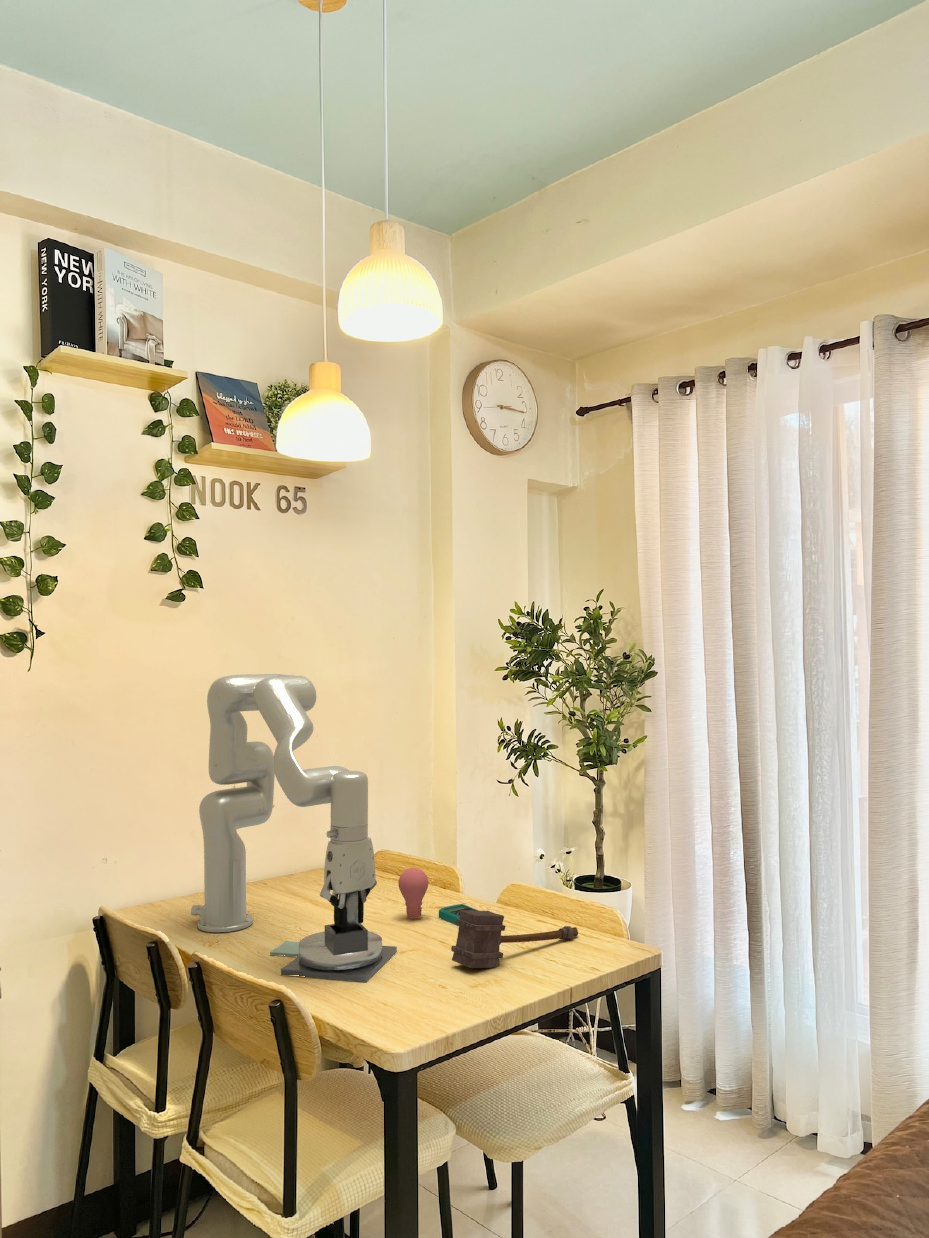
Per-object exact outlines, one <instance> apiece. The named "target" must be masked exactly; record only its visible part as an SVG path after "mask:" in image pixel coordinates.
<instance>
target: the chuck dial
mask: <svg viewBox="0 0 929 1238" xmlns="http://www.w3.org/2000/svg"><path fill="white" fill-rule="evenodd" d="M298 942H299V961H300V963H302V964H303V965H305V966H307V967H310V968H315V969H322V970H345V969H353V968H358V967H362V966H366V965H369V964H372V963H374V962H376V961H377V960H379V959H380V958H381V957H382V946H383V937H381V935H380V934H377V933H376V932H373V931H371V930H370V931H369V930H368V929H367V928H366V927H365V926H364V925H363V923H359V930H356V931H349V932H341V927H338V926H335V924H334V923H331V924H325V925H324V931H320V932H319V931H318V932H316V933H313V934H310V935H307V936H306V937H304V938H301V940H300V941H298Z"/></svg>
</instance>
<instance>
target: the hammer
mask: <svg viewBox="0 0 929 1238" xmlns="http://www.w3.org/2000/svg"><path fill="white" fill-rule="evenodd" d="M504 920H505V915H502V914H501V913H500V914H499V913H495V912H493V911H490V910H479V911H474V910H461V911H460V919H456V924H458V925H459V926H458V925H457V926H458V930H457V931H458V932H457V936H456V937H457V938H456V943H455V945H451V948H450V950H451V952H453V955H452V957H451V961H453V962H454V963H458V964H460V965H463V966H464V967H466V968H469V969H486V968H487V969H489V968H499V967H500V959H503V957H504V952H501V951H500V947H501V944H505V943H506V944H507V943H510V944H511V943H529V942H540V941H550V940H567V941H572V940H573V939H574V938H575V937H578V936H579V930H578V928H577V927H576V926H575V927H574V926H573V927H572V926H570V925H567V926H566V925H565V926H562V927H561V928H558V930H551V931H544V932H537V933H536V932H535V933H525V934H524V933H523V934H511V935H510V934H509V935H502V932H504V931H506V925H504Z"/></svg>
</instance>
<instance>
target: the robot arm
mask: <svg viewBox="0 0 929 1238" xmlns="http://www.w3.org/2000/svg"><path fill="white" fill-rule="evenodd" d="M315 687H316V686H314V684H313V682H312V681H311V680H310V679H309V678H307V677H306V676H303V675H294V674H281V673H265V674H264V673H259V674H258V673H257V674H232V675H225V676H222V677H219V678H217V679H216V680H214V681H213V682H212V683H211V685H210V686H209V689H208V692H207V696H206V706H207V712H208V717H209V724H210V733H209V745H208V747H209V748H208V751H209V752H208V775H209V778H210V780H211V782H213V783H214V784H216V785H219V786H220V785H223V786H226V785H235V784H236V785H237V784H244V783H246V786H241V787H233V788H226V789H218V790H214V791H211V792H210V793H208V794H206V795H205V796H204V797H203V798H202V800H201V802H200V804H199V809H198V812H199V819H200V824H201V825H200V826H201V830H202V837H203V839H202V840H203V864H204V865H203V868H204V869H203V874H204V876H203V877H204V886H203V887H204V888H203V889H204V890H203V891H204V895H203V897H204V904H203V905H202V904H201V905H200V904H193V905H191V909H190V916H197V917H198V916H199V917H200V919H199V920H198V921H197V928H198V929H199V930H200V931H203V932H207V933H229V932H235V931H240V930H244V929H247V928H248V927H250V926H251V925H253V923H254V918H253V916H252V915H250V913H249V914H248V913H247V861H246V860H247V855H246V854H247V852H246V850H247V849H246V846H245V843H244V840H243V839H242V838H241V836H240V835H239V834H238V832H237V830H239V829H242V828H249V827H253V826H259V825H262V824H265V823H266V822H267V821H268V820H269V819H270V818H271V815H272V814H273V809H274V808H273V806H274V793H275V779H276V780H277V781H276V782H278V785H279V786H280V788H281V789H282V792H283V793H284V795H285V796H286V798H287V799H288V800H289V802H291V803H292V804H293V805H295V806H296V807H299V808H306V807H307V808H308V807H313V806H319V805H326V804H330V826H329V827H330V829H329V830H327V831H326V837H327V838H328V839H330V840H328V841H327V846H326V852H325V858H324V868H323V869H324V872H323V873H324V874H323V882H324V883H323V885H322V887H321V890H320V892H319V896H320V897H321V898H322V899H325V900H327V901H328V902H329V903H330V904H331V906H332V907H333V922H334V923H333V924H335V926H338V927H341V928H345V927H346V908H345V907H344V902H345V894H346V893H351V892H355V891H358V922H359V923H361V924H364V914H365V912H364V909H365V907H364V906H365V905H364V904H365V903H366V902H367V897H369V895H370V893H371V892H372V891H371V890H373V889H374V888H375V887H376V886H377V885H378V882H377V880H376V861H375V860H376V859H375V850H374V846H373V841H372V838H371V837H369V836H368V835H369V829H368V828H369V779H368V776H367V774H366V773H365V772H363V771H358V770H350V769H348V768H345V767H343V766H340V765H330V766H322V767H316V768H315V767H314V768H307V769H303V768H302V767H301V766H300V764H299V763H298V760H297V759H296V757H295V755H294V751H295V750H297V749H299V747H301V746H302V745H304V744H305V743H306V742H308V740H309V739H310V738H311V736H312V735H313V732H314V723H313V722H312V720H311V719H310V717H309V716H308V714H307V712H309V711H311V710H312V709H313V708H314V706H315V705H316V703H317V690H316V688H315ZM254 711H255V712H256V711H259V713H260V715H261V717H262V718H263V720H264V722H265V723H266V725H267V727H268V730H270V733H271V734H272V736H273V737H274V739H275V741H276V743H277V745H276V747H275V749H274V752H273V750H272V749H271V747H270V746H269V745H268V744H267V743H265V742H263V741H258V740H257V741H248V724H247V721H246V719H245V717H244V716H243V714H242V713H241V712H254ZM331 891H332V893H331Z"/></svg>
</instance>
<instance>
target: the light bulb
mask: <svg viewBox="0 0 929 1238" xmlns="http://www.w3.org/2000/svg"><path fill="white" fill-rule="evenodd" d="M428 888H429V878H428V876H427V874H426V873H425V871H423V870H422V869H421V868H418V867H409V868H407V869H405V870H404V871H402V873H401V874H400V876H399V877H398V889H399V891H400V894H401V895H402V898H403V899H404V901H405V902H404V905H405V906H406V909H405V911H406V917H407V918H411V919H413V918H415V919H417V918H420V917H422V911H423V910H422V905H423V899H424V897H425V895H426V893H427V891H428Z"/></svg>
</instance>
